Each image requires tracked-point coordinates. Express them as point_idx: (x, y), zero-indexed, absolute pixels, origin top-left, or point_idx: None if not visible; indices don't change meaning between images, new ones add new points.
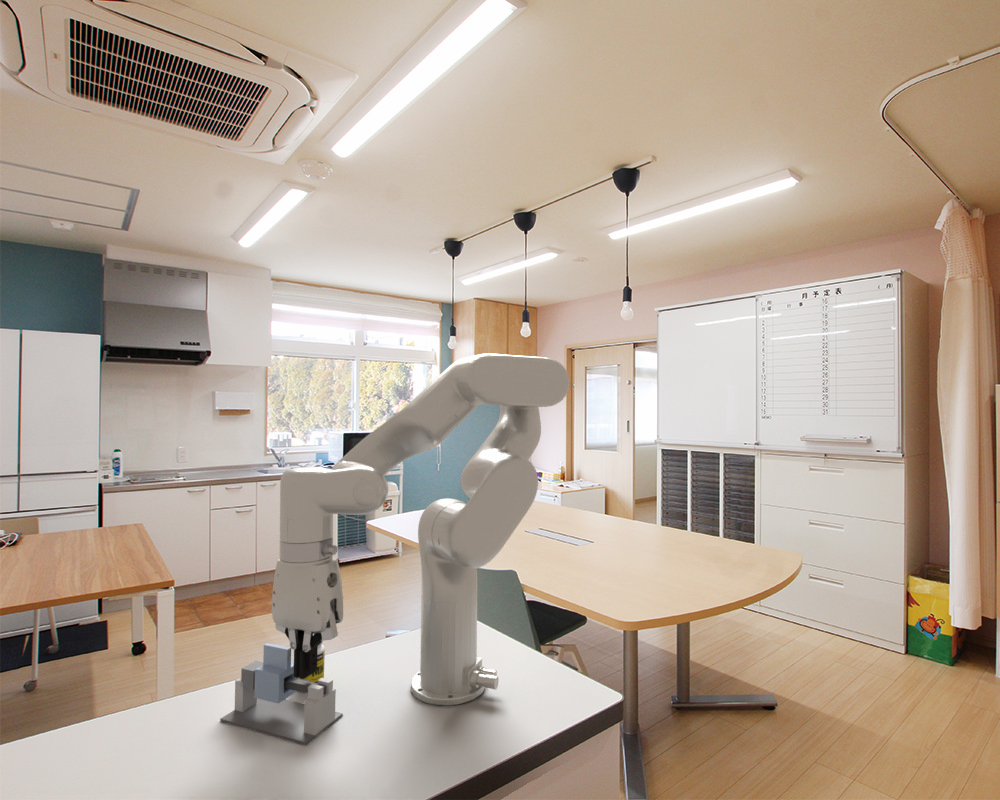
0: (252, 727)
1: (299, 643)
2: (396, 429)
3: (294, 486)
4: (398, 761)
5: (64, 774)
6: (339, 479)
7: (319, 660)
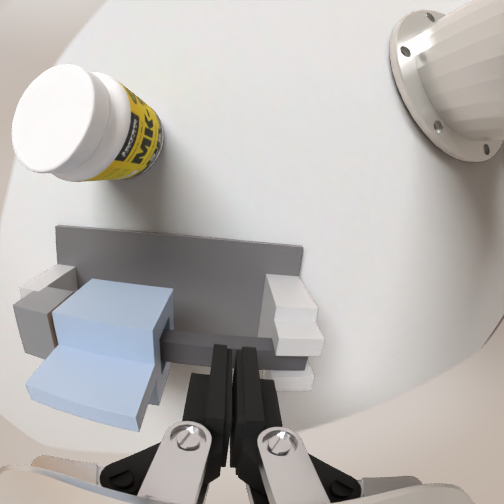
0: None
1: (211, 479)
2: None
3: None
4: (438, 331)
5: (46, 431)
6: None
7: (136, 136)
